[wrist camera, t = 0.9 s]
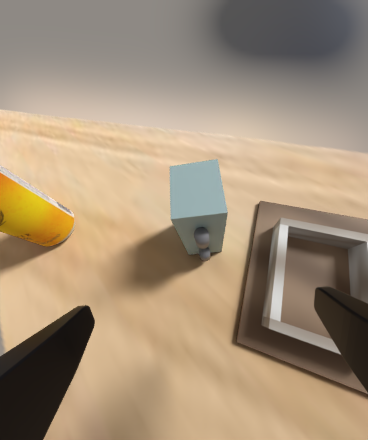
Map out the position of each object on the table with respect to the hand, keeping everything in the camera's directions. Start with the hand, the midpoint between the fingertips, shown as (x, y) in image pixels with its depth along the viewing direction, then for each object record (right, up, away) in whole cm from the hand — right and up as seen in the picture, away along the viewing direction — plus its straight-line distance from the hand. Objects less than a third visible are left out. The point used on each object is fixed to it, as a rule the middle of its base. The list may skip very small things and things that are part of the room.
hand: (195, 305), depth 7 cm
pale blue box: (+2, +2, +15) cm, 15 cm away
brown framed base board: (+13, -3, +11) cm, 17 cm away
